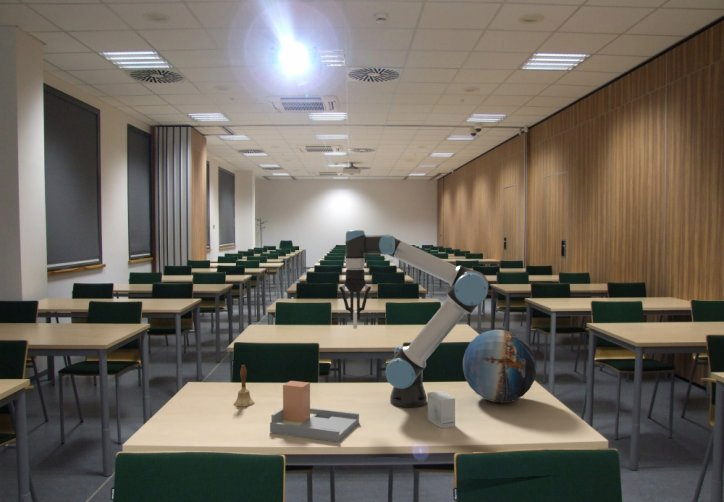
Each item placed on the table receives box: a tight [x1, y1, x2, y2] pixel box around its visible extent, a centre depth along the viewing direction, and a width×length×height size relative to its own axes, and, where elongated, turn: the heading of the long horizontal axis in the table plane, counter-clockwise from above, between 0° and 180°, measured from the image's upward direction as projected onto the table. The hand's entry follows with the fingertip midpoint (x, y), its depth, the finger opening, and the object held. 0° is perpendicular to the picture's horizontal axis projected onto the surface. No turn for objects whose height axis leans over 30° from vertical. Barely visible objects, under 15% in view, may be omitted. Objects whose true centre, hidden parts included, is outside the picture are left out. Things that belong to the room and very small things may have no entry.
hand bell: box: [233, 364, 255, 408], centre depth 227 cm, size 8×8×16 cm
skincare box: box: [426, 390, 456, 429], centre depth 204 cm, size 10×6×10 cm, turn 21°
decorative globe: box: [462, 329, 537, 404], centre depth 231 cm, size 30×30×30 cm
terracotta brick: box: [282, 380, 311, 423], centre depth 203 cm, size 8×6×13 cm
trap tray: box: [269, 407, 360, 443], centre depth 199 cm, size 26×20×6 cm
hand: (355, 327), depth 220 cm, fingers closed
